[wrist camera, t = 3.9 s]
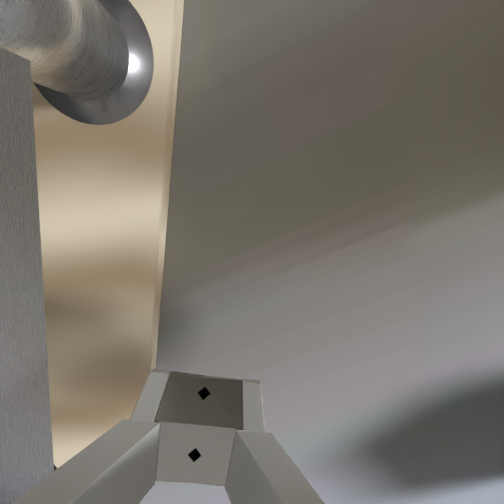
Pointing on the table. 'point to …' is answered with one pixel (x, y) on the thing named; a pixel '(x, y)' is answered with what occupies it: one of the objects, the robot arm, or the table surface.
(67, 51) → the lock bar
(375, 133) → the table surface
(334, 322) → the table surface
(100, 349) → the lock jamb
